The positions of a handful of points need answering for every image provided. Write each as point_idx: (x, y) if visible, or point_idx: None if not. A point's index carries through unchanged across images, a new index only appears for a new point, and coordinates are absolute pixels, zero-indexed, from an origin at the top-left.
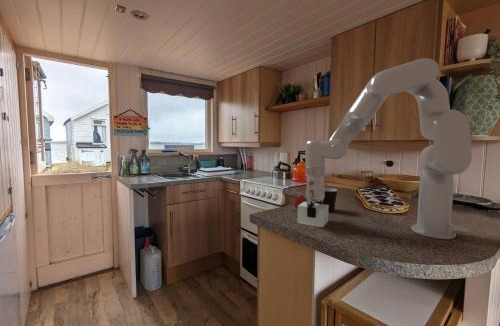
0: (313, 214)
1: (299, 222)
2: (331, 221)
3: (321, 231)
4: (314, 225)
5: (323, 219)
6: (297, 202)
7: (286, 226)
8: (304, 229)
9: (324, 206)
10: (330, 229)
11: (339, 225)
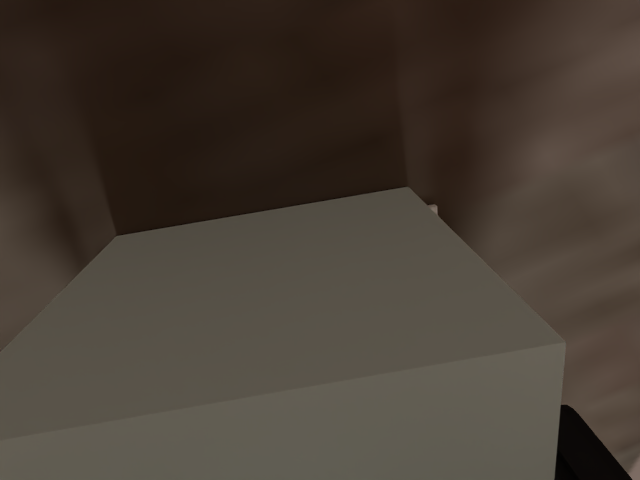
0: None
1: None
2: (62, 198)
3: (593, 134)
4: None
5: (448, 226)
6: None
7: None
8: (616, 316)
9: (194, 464)
10: (443, 62)
11: (149, 10)
